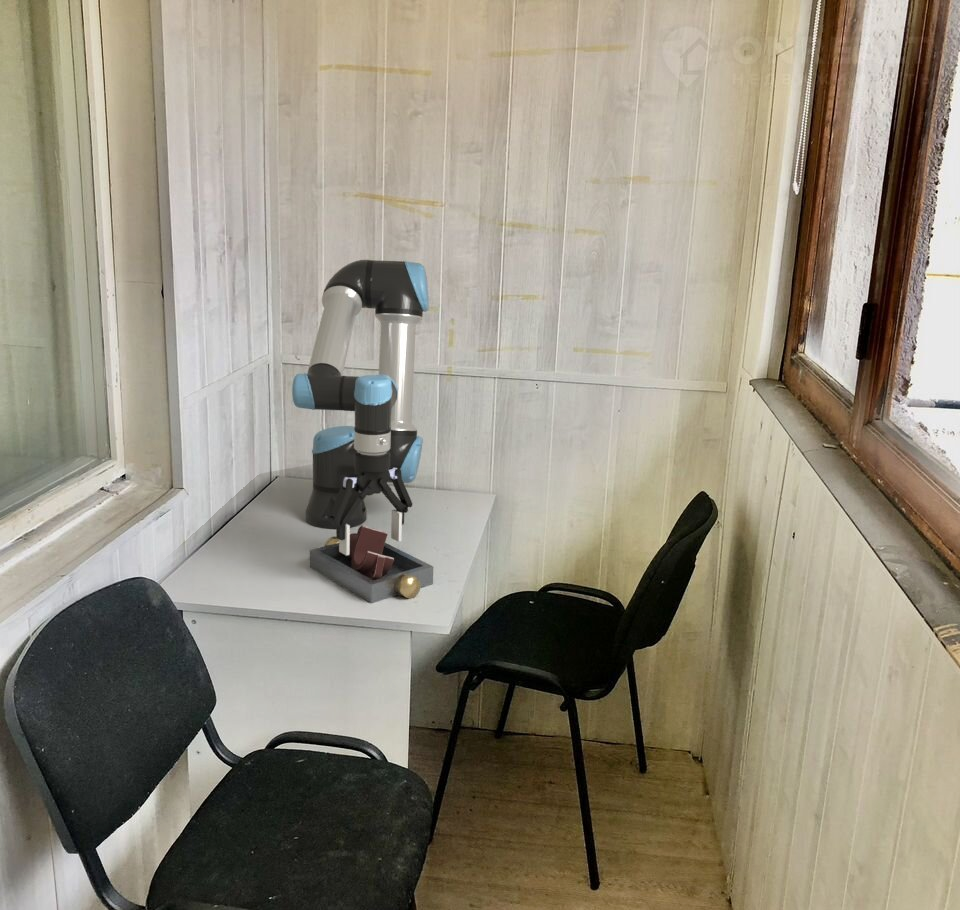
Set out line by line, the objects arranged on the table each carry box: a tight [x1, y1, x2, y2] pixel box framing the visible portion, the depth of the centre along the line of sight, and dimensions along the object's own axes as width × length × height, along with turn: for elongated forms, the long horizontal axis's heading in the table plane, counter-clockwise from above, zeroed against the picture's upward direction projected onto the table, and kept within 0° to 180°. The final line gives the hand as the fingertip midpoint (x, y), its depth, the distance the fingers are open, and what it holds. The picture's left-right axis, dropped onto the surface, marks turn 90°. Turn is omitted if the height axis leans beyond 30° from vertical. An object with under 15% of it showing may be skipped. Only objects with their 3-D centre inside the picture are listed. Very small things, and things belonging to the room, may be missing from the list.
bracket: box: [347, 524, 394, 580], centre depth 197 cm, size 6×17×10 cm, turn 29°
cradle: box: [309, 536, 434, 604], centre depth 198 cm, size 29×16×4 cm, turn 42°
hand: (370, 546), depth 197 cm, fingers open, 13 cm apart
